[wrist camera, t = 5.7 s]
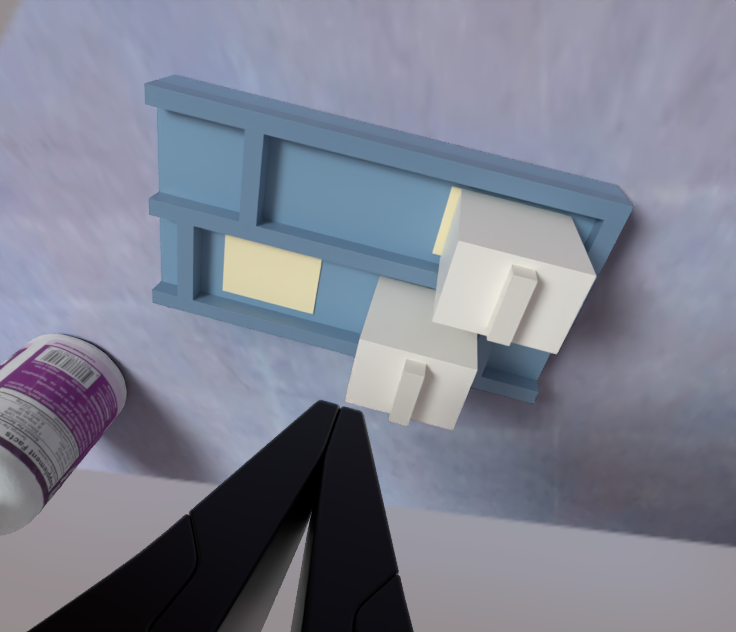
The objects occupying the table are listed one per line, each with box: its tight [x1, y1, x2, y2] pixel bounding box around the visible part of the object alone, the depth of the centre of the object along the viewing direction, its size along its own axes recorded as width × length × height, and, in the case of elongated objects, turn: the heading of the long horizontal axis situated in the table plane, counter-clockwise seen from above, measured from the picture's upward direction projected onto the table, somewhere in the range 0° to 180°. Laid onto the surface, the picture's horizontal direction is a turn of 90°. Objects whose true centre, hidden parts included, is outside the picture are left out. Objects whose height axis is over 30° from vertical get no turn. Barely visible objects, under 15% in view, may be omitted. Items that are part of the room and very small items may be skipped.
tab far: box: [345, 275, 477, 430], centre depth 17 cm, size 4×2×5 cm
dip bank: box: [145, 75, 634, 404], centre depth 19 cm, size 15×8×2 cm, turn 79°
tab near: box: [432, 189, 596, 354], centre depth 15 cm, size 4×2×5 cm
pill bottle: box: [0, 334, 127, 535], centre depth 22 cm, size 5×5×10 cm
